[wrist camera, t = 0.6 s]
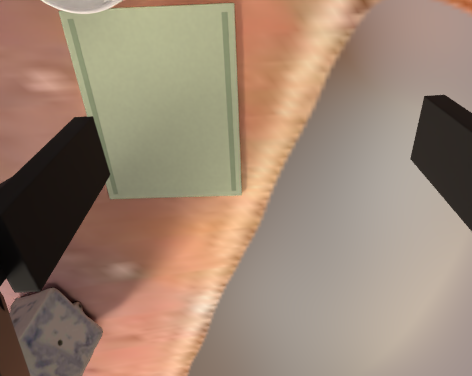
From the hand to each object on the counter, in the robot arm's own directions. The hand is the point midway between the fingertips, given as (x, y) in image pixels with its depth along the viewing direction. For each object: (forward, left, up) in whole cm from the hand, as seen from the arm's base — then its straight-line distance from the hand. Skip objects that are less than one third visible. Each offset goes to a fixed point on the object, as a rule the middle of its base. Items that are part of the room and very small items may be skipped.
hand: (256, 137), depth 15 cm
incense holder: (+32, -26, -18) cm, 45 cm away
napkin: (+5, -8, -18) cm, 21 cm away
